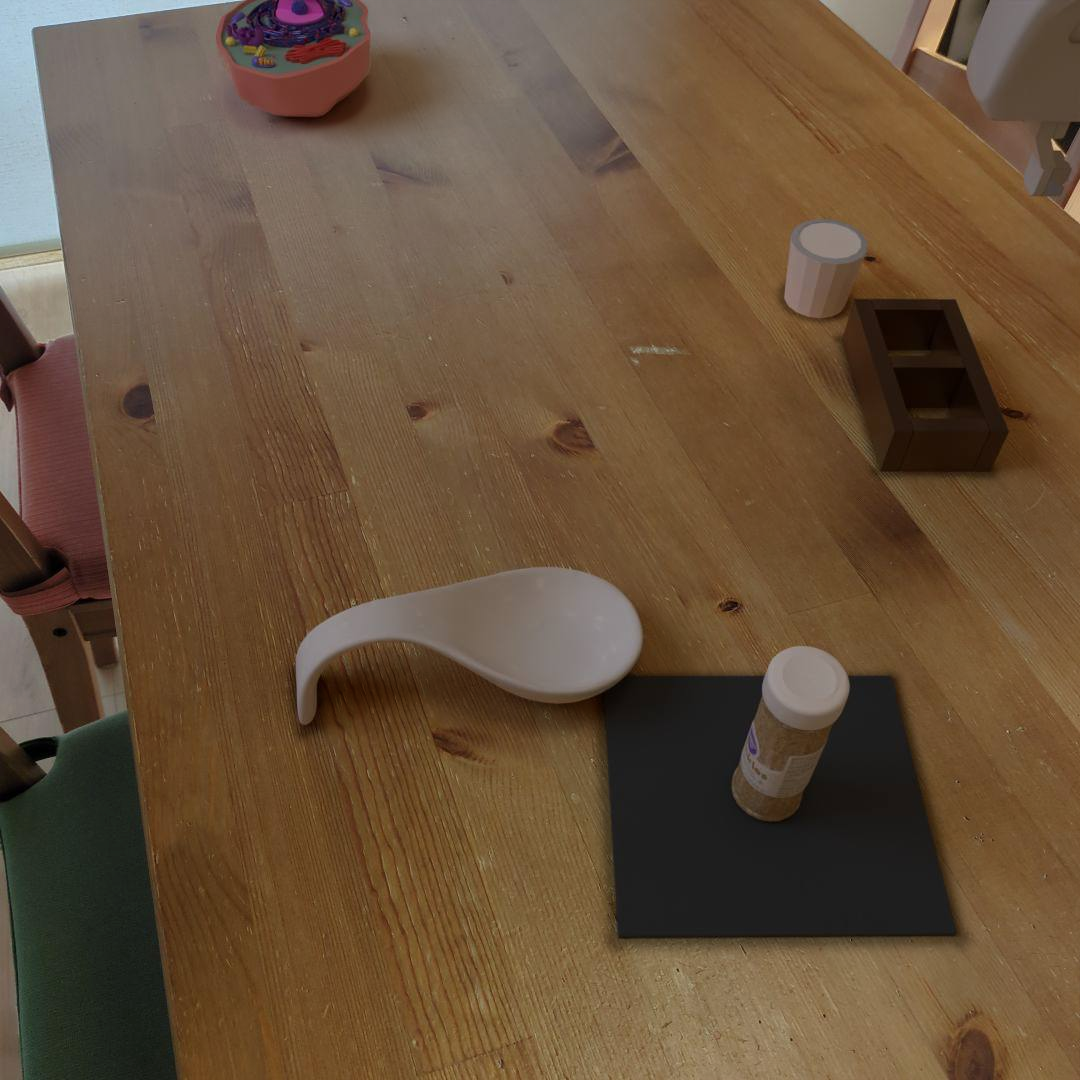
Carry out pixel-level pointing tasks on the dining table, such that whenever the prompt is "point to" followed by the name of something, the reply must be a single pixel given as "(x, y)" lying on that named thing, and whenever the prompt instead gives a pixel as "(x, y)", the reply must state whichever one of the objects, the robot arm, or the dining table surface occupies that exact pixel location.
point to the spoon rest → (496, 633)
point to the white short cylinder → (823, 266)
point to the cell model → (295, 53)
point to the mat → (762, 846)
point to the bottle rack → (922, 386)
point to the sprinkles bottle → (789, 731)
